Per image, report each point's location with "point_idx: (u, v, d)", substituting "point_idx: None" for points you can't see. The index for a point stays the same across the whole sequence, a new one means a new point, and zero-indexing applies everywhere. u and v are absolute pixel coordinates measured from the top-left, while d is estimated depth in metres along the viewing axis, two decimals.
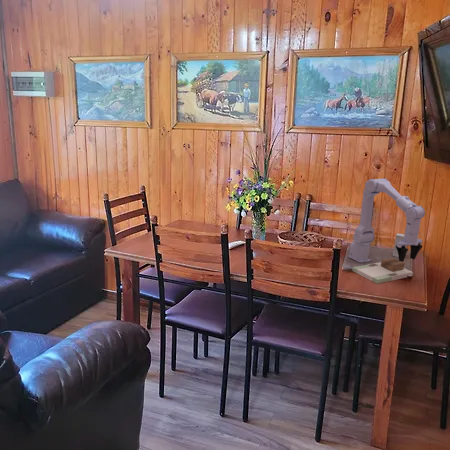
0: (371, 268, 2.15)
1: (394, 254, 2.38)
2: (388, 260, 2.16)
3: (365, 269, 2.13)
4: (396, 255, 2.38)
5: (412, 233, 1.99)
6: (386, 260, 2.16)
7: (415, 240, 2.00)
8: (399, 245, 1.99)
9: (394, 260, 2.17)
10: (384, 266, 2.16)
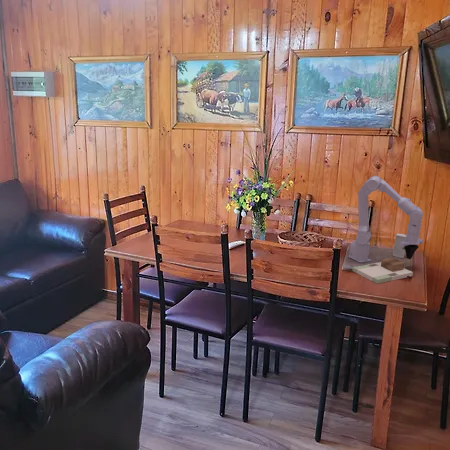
0: (371, 268, 2.15)
1: (394, 254, 2.38)
2: (388, 260, 2.16)
3: (365, 269, 2.13)
4: (396, 255, 2.38)
5: (417, 233, 2.14)
6: (386, 260, 2.16)
7: (416, 240, 2.15)
8: (402, 244, 2.14)
9: (394, 260, 2.17)
10: (384, 266, 2.16)
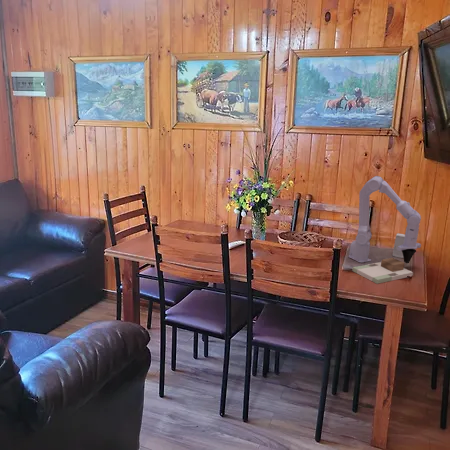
0: (371, 268, 2.15)
1: (394, 254, 2.38)
2: (388, 260, 2.16)
3: (365, 269, 2.13)
4: (396, 255, 2.38)
5: (415, 238, 2.14)
6: (386, 260, 2.16)
7: (414, 244, 2.15)
8: (400, 248, 2.14)
9: (394, 260, 2.17)
10: (384, 266, 2.16)
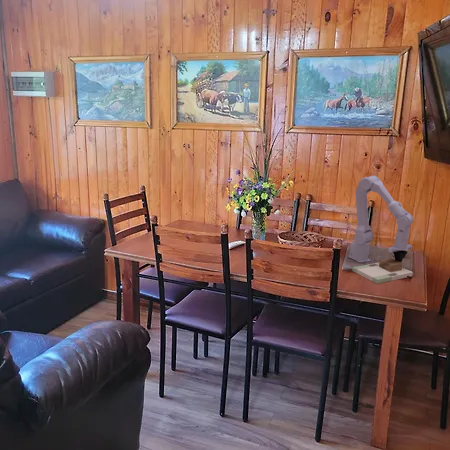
0: (371, 268, 2.15)
1: None
2: (386, 260, 2.16)
3: (365, 269, 2.13)
4: None
5: (404, 239, 2.11)
6: (384, 261, 2.15)
7: (405, 246, 2.12)
8: (390, 250, 2.12)
9: (392, 260, 2.16)
10: (382, 266, 2.15)
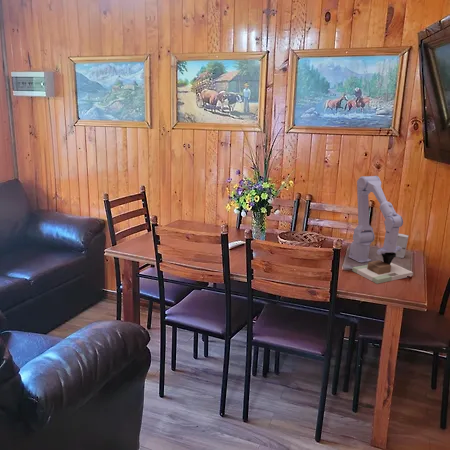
0: None
1: None
2: (375, 263, 2.12)
3: (365, 269, 2.13)
4: (396, 255, 2.38)
5: (390, 241, 2.08)
6: (373, 263, 2.12)
7: (394, 248, 2.09)
8: (379, 252, 2.08)
9: (381, 263, 2.13)
10: (370, 269, 2.12)
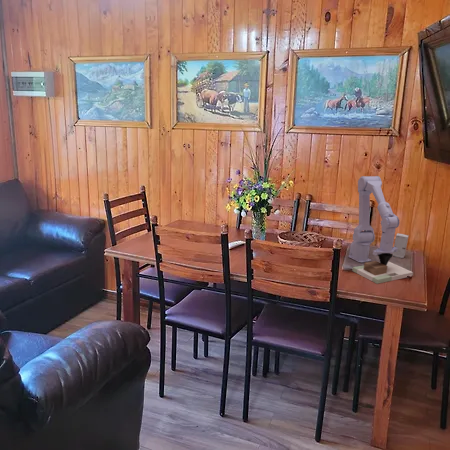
0: None
1: (394, 254, 2.38)
2: (371, 263, 2.11)
3: None
4: (396, 255, 2.38)
5: (386, 241, 2.07)
6: (369, 264, 2.11)
7: (390, 248, 2.08)
8: (375, 253, 2.07)
9: (377, 263, 2.12)
10: (367, 269, 2.11)
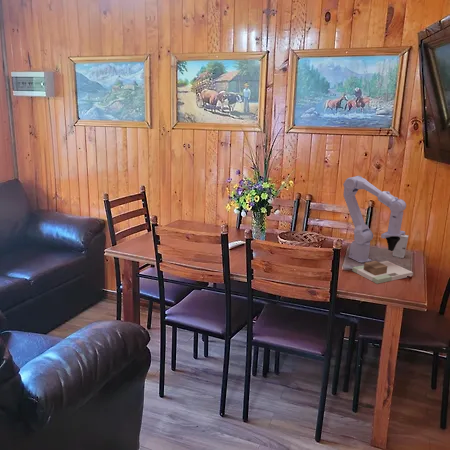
0: None
1: (394, 254, 2.38)
2: (371, 263, 2.11)
3: None
4: (396, 255, 2.38)
5: (397, 225, 2.13)
6: (369, 264, 2.11)
7: (398, 231, 2.14)
8: (383, 236, 2.13)
9: (377, 263, 2.12)
10: (367, 269, 2.11)
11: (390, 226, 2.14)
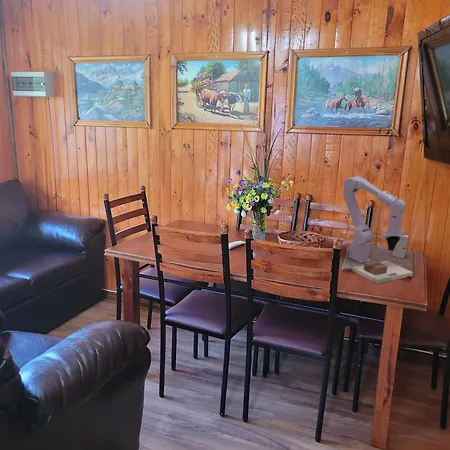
0: None
1: (394, 254, 2.38)
2: (371, 263, 2.11)
3: None
4: (396, 255, 2.38)
5: (397, 225, 2.13)
6: (369, 264, 2.11)
7: (398, 231, 2.14)
8: (383, 236, 2.13)
9: (377, 263, 2.12)
10: (367, 269, 2.11)
11: (390, 226, 2.15)
